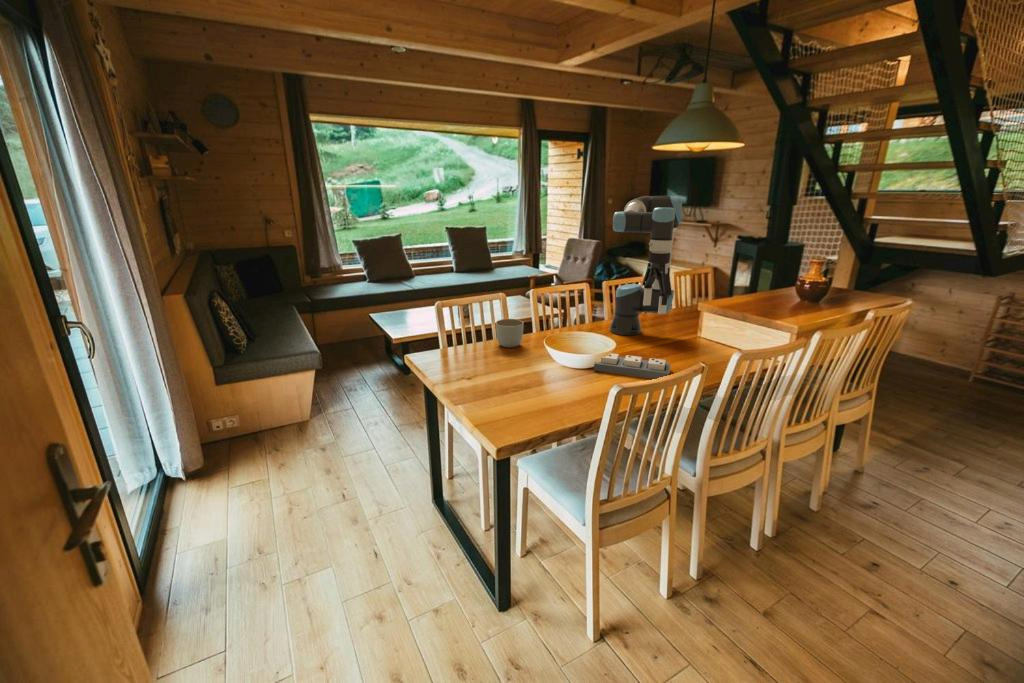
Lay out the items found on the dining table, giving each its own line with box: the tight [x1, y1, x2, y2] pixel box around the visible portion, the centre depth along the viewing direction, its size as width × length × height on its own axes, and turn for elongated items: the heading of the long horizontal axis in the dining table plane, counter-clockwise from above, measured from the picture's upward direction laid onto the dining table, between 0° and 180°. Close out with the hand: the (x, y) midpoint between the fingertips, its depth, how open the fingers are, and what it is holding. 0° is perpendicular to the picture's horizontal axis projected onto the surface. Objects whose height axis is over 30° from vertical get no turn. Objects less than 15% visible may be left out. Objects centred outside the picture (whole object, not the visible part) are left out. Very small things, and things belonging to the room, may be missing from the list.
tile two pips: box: [624, 354, 643, 367], centre depth 184 cm, size 6×6×3 cm
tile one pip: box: [601, 352, 620, 364], centre depth 187 cm, size 6×6×3 cm
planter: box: [495, 318, 524, 349], centre depth 213 cm, size 12×12×11 cm
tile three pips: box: [648, 357, 666, 371], centre depth 181 cm, size 6×6×3 cm
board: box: [593, 356, 672, 380], centre depth 185 cm, size 11×28×3 cm, turn 69°
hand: (654, 309), depth 176 cm, fingers open, 13 cm apart
